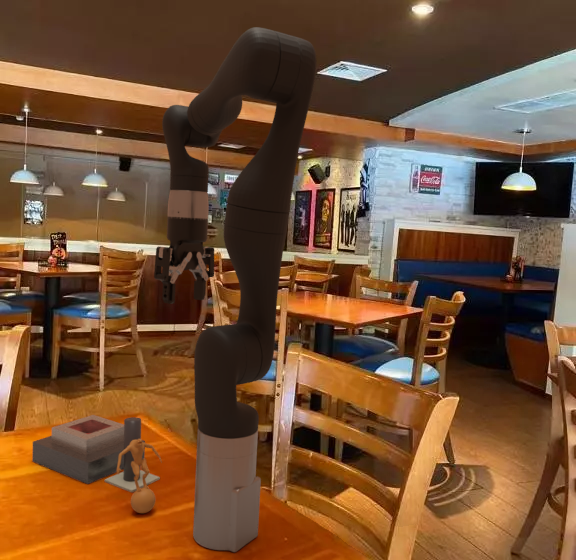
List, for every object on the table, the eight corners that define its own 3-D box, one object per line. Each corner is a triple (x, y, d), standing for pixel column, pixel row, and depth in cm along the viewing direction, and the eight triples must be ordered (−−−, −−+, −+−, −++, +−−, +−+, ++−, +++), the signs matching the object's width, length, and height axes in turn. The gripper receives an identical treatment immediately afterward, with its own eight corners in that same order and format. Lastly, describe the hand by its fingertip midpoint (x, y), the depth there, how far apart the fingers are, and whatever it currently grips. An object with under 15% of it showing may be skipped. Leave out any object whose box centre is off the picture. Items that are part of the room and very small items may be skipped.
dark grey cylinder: (143, 477, 110) (144, 419, 109) (131, 482, 107) (132, 423, 106) (132, 473, 111) (133, 416, 111) (119, 478, 109) (120, 420, 108)
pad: (159, 479, 110) (159, 477, 110) (131, 492, 105) (131, 490, 104) (132, 469, 114) (133, 467, 114) (104, 481, 108) (104, 479, 108)
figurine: (125, 524, 94) (128, 451, 93) (108, 509, 98) (110, 439, 97) (170, 509, 99) (173, 440, 98) (152, 495, 104) (154, 429, 103)
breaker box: (144, 460, 119) (145, 426, 118) (87, 484, 107) (88, 446, 106) (90, 441, 127) (91, 409, 126) (32, 461, 115) (33, 426, 114)
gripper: (177, 215, 103) (173, 307, 104) (227, 218, 115) (223, 300, 116) (145, 213, 107) (142, 302, 108) (197, 216, 119) (193, 296, 120)
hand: (184, 301), depth 112 cm, fingers open, 8 cm apart
